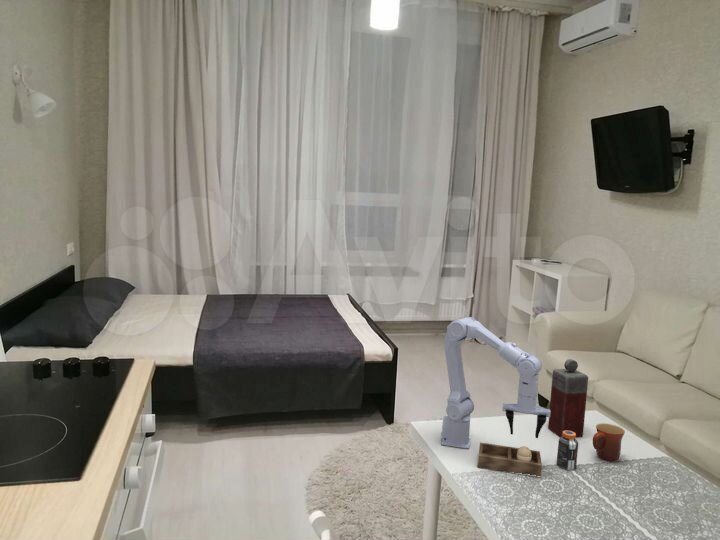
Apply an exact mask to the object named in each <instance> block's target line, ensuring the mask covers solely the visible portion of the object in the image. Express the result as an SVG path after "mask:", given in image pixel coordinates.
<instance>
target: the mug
mask: <svg viewBox="0 0 720 540" xmlns="http://www.w3.org/2000/svg"><path fill="white" fill-rule="evenodd" d="M595 427H596V428H595V429H596V432H595V433H594V435H593V436H592V446H593V449H594V450H595V453H596V456H597V457H598V458H599V459H600V460H602V461H605V462H611V463H613V462H617V461H619V460H620V457H621V452H622V451H621V450H622V440H623V437H624V435H625V432H626V431H625V430H624V428H622V427H620V426H617V425H615V424H611V423H605V422H604V423H602V422H601V423H598V424H596V425H595Z"/></svg>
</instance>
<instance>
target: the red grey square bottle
mask: <svg viewBox="0 0 720 540" xmlns="http://www.w3.org/2000/svg"><path fill="white" fill-rule="evenodd" d="M563 365H564V368H554V369H553V370H552V377H551V390H550V401H549V410H550V412H551V413H550V418H549V417H548V425H547V429H548V430H549V431H551V432H552V433H553V434H555V435H556V436H557V437H558V438H560V437H562V434H563V431H565V430H567V431H572V432H574V433H576V438H575V439H577V438H584V429H585V427H584V426H585V418H586V417H585V416H586V408H587V407H586V406H587V398H588V397H587V394H588V385H589V376H588V374H585V373H583V372H581V371H579V370H577V369H578V367H579V364H578V361H576V360H574V359H573V358H572V359H571V358H568V359H567V360H566V361H565V362H564V364H563Z"/></svg>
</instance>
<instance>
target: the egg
mask: <svg viewBox="0 0 720 540" xmlns="http://www.w3.org/2000/svg"><path fill="white" fill-rule="evenodd" d="M518 448H519V449H518V451H517V460H520V461H526V462H531V457H532V453H531V450H532V449H530V448H529V447H528V446H525V445H524V446H520V447H518Z"/></svg>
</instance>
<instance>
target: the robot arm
mask: <svg viewBox="0 0 720 540" xmlns="http://www.w3.org/2000/svg"><path fill="white" fill-rule="evenodd" d="M467 339H479V340H480V341H482V342H484V343H485V344H486V345H488V346H489V347H491V348H493V349H495V350H496V351H498V355H499V357H500V358H501V359H503V360H505V361H506V362H507V363H509V365H512V366H513V367H514V368H515V369H517V372H518V374H519V378H518V391H517V403H502V412H505V415H506V419H507V422H508V425H509V429H510V435H513V434H514V419H515V418H514V417H515V416H514V415H515V413H520V414H527V415H534V416H536V427H535V434H534V436H535V438H536V439H539V435H540V432H541V430H542V428H543V426H544V425H545V424H546V422H547V418H548V419H549V418H550V413H551V412H550V408H548V409H547V408H543V407H539V406H537V398H538V386H539V373H540V371H541V370H542V367H543V364H542V362H541V360H540V358H539V357H538V356H537V355H534V354H530V352H527V351H524V350H523V349H521V348H520V347H518V345H517V343H516V342H511V341H507V342H505V341H503V340H502V339H500V338H499V337H498V336H497V335H495V334H494V333H493V332H492V331H490V330H489V329H487V328H486V327H485V326H483V324H482V323H481V322H480V321H478V320H476V319H475V318H474V317H471V316H465V317H464V318H459V319H455V320H453V321H451V322H450V323H449V324H448V325H447V327H446V334H445V337H444V340H443V345H444V353H445V362H446V367H447V376H448V382H449V383H448V384H449V391H450V392H449V395H448V397H447V399H446V400H447V406H446V409H445V410H446V411H445V413H446V415H444V416H443V418H442V426H441V427H442V428H441V440H440V441H441V443H440V445H441V446H447V447H454V448H461V449H467V450H469V449H470V445H471V444H470V443H471V438H470V429H471V414H472V413H473V412H474V411H475V405H474V404H475V403H474V401H473V399H472V398H471V397H472V396H471V393H470V392H469V391H468V390H467V387H466V380H465V371H464V362H463V358H462V355H463V354H462V349H461V345H462V344H463V343H464V341H466V340H467Z"/></svg>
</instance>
